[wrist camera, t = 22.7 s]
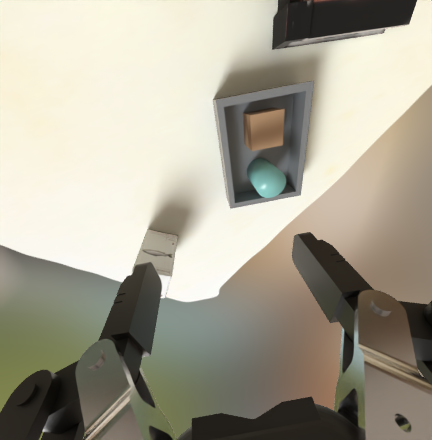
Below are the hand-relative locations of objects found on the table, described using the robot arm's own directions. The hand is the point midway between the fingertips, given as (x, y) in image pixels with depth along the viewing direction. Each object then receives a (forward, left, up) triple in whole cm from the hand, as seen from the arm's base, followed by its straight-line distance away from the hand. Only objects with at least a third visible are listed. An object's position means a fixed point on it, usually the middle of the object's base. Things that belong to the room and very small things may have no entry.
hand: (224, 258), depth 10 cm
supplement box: (+20, -15, -28) cm, 38 cm away
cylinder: (+6, +10, -27) cm, 30 cm away
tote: (+2, +10, -28) cm, 30 cm away
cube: (-2, +10, -27) cm, 29 cm away
